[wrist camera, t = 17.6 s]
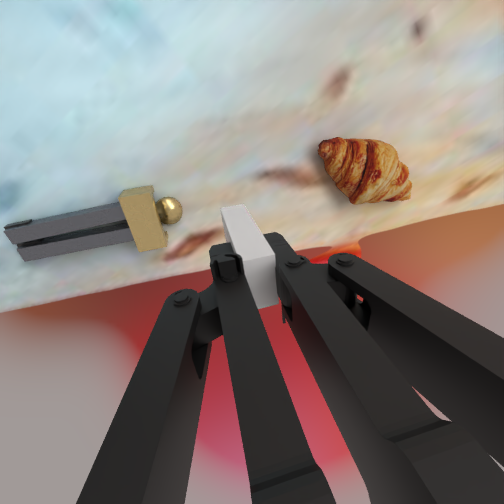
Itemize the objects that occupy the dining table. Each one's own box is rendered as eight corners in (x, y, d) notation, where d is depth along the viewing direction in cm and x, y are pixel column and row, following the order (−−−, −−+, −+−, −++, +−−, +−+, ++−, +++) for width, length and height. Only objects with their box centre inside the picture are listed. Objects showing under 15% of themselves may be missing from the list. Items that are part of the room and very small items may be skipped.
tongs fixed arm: (178, 194, 39) (178, 199, 37) (186, 224, 41) (186, 231, 39) (10, 224, 36) (-1, 231, 33) (30, 254, 38) (21, 263, 36)
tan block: (152, 185, 37) (149, 192, 34) (168, 235, 41) (166, 246, 38) (123, 190, 36) (118, 198, 33) (142, 240, 41) (139, 252, 37)
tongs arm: (145, 195, 37) (142, 199, 36) (150, 210, 39) (149, 215, 37) (8, 224, 35) (-2, 230, 33) (18, 239, 36) (10, 246, 35)
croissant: (397, 174, 50) (442, 162, 43) (387, 224, 49) (430, 221, 42) (311, 125, 41) (349, 100, 34) (297, 184, 41) (332, 172, 33)
